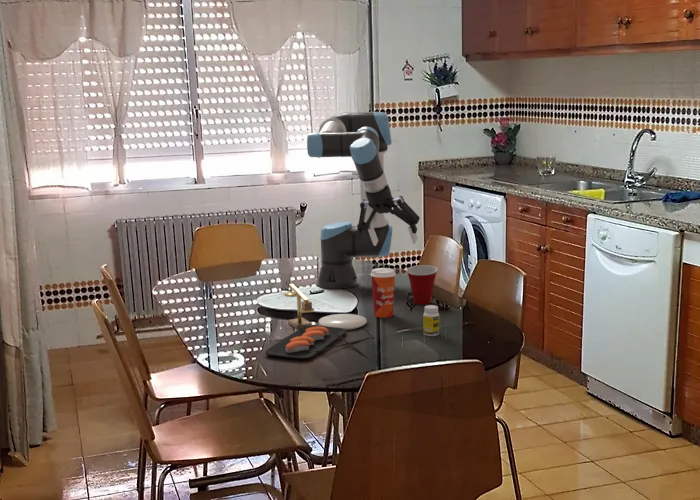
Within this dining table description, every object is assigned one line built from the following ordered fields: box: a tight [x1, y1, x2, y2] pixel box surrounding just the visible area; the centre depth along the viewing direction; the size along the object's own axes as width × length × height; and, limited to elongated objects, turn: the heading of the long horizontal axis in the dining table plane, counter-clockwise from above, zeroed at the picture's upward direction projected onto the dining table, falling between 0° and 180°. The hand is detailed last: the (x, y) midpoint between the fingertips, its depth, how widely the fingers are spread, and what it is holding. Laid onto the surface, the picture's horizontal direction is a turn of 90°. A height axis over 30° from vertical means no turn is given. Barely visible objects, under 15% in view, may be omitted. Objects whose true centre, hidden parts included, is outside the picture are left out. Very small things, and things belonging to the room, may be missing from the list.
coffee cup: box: [370, 267, 397, 319], centre depth 259 cm, size 8×8×15 cm
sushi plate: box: [265, 324, 373, 361], centre depth 228 cm, size 29×30×4 cm
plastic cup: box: [405, 264, 439, 305], centre depth 273 cm, size 11×11×12 cm
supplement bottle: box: [422, 304, 440, 337], centre depth 238 cm, size 5×5×8 cm
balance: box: [284, 283, 315, 330], centre depth 250 cm, size 16×5×12 cm, turn 27°
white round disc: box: [318, 313, 368, 331], centre depth 251 cm, size 15×15×1 cm
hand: (395, 242), depth 255 cm, fingers open, 13 cm apart
